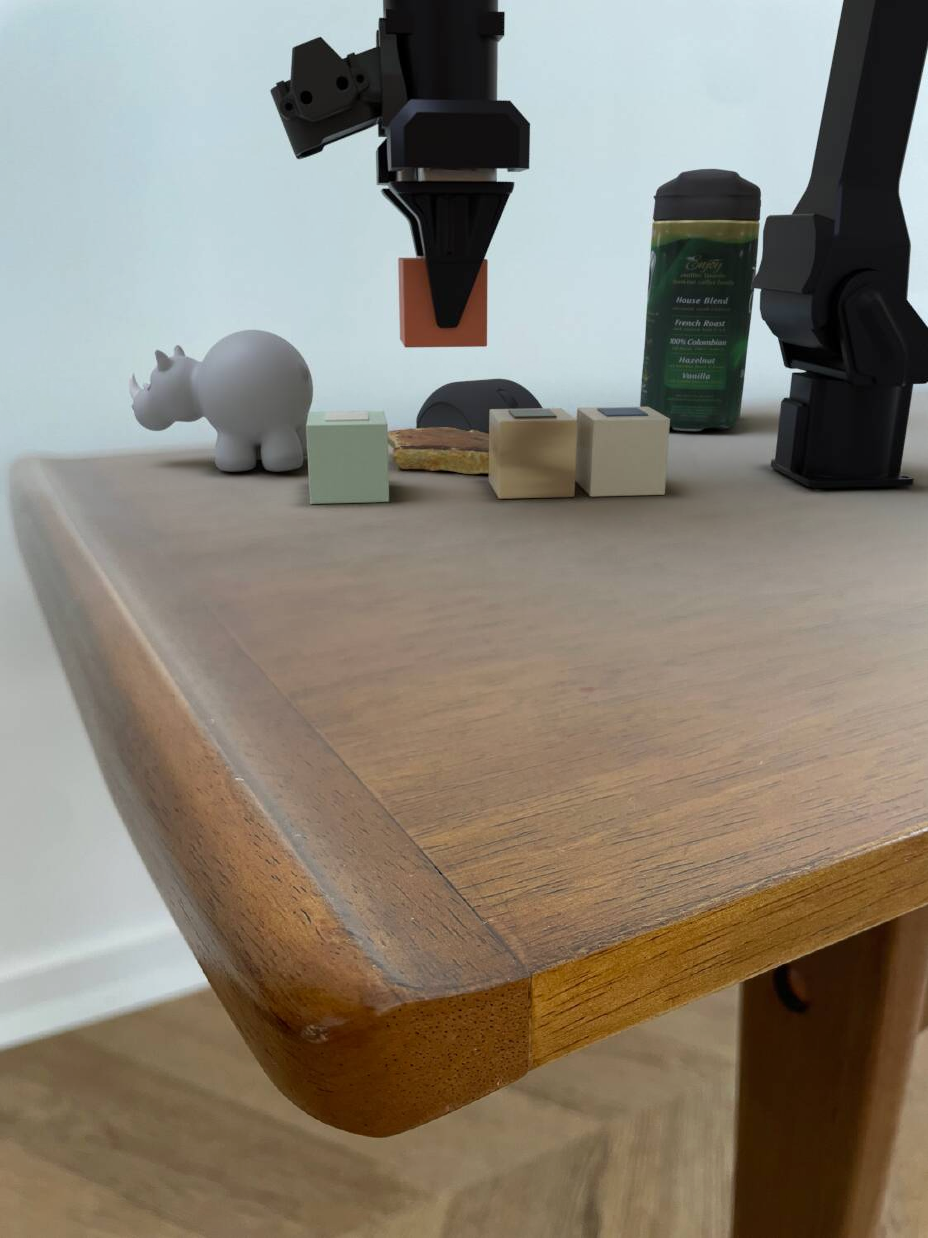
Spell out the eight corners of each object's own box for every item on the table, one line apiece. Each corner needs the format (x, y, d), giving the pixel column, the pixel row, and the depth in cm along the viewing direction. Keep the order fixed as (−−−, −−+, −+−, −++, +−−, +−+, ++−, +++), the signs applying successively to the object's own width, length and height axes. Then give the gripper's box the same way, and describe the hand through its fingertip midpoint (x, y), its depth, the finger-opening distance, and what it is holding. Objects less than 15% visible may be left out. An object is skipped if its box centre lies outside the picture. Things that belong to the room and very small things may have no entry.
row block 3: (644, 478, 64) (648, 404, 62) (665, 495, 60) (670, 416, 58) (574, 479, 63) (577, 405, 62) (590, 496, 59) (593, 418, 58)
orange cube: (476, 338, 59) (477, 255, 58) (487, 346, 55) (487, 256, 54) (399, 339, 59) (398, 255, 57) (404, 347, 55) (402, 257, 53)
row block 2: (559, 480, 63) (562, 405, 62) (574, 497, 59) (577, 418, 58) (488, 482, 63) (489, 407, 61) (498, 499, 59) (499, 419, 57)
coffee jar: (742, 436, 77) (768, 164, 71) (635, 431, 79) (651, 165, 72) (739, 415, 86) (762, 172, 80) (643, 411, 88) (657, 173, 81)
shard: (550, 480, 63) (551, 450, 63) (436, 492, 60) (436, 461, 60) (472, 448, 73) (472, 422, 72) (370, 457, 69) (369, 431, 69)
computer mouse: (484, 451, 72) (484, 392, 70) (409, 426, 81) (408, 374, 79) (559, 442, 75) (561, 386, 73) (478, 419, 84) (479, 369, 82)
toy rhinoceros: (161, 451, 72) (148, 323, 69) (330, 456, 70) (324, 325, 67) (114, 473, 65) (97, 333, 62) (299, 479, 63) (291, 335, 60)
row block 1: (386, 484, 62) (384, 408, 61) (389, 502, 58) (387, 421, 57) (312, 486, 62) (308, 410, 60) (310, 504, 58) (305, 422, 56)
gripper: (284, 27, 59) (299, 313, 65) (262, -58, 42) (286, 342, 47) (478, 31, 60) (477, 311, 66) (535, -50, 43) (528, 339, 48)
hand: (443, 323), depth 57 cm, fingers closed on orange cube, 4 cm apart
